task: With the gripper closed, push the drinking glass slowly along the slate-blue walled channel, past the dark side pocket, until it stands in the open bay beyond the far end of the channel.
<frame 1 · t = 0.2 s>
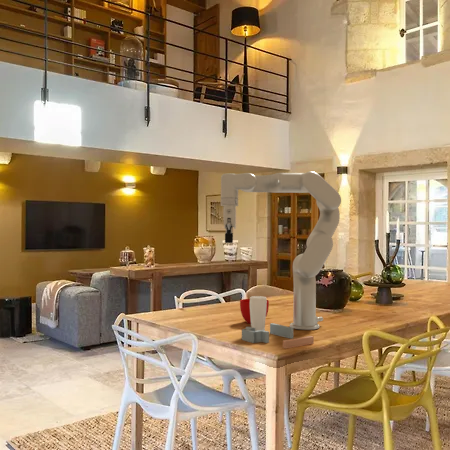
hand: (228, 242, 220), 36 cm above the table, tool pointing down, fingers open, 9 cm apart
channel: (269, 337, 200), on the table
ceramic cup: (253, 322, 233), on the table
drinking glass: (257, 335, 206), on the table
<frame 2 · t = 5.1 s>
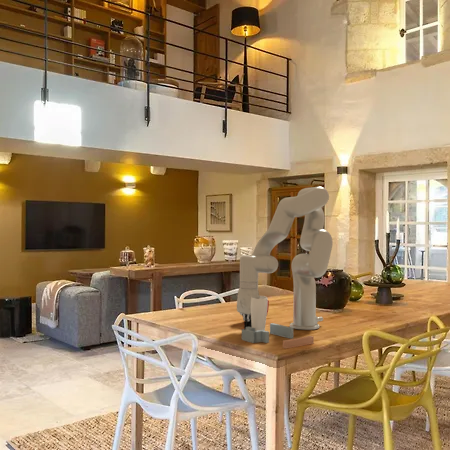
hand: (248, 330, 210), 1 cm above the table, tool pointing down, fingers closed
drinking glass: (257, 334, 206), on the table, touching gripper
everything else where it was.
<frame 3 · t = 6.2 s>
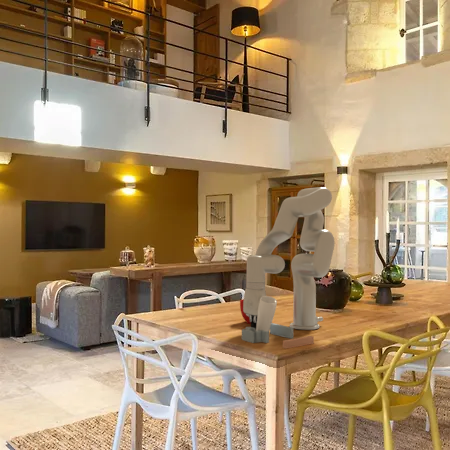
hand: (255, 331, 206), 1 cm above the table, tool pointing down, fingers closed
drinking glass: (261, 334, 203), point 1 cm above the table, touching gripper
everything else where it was.
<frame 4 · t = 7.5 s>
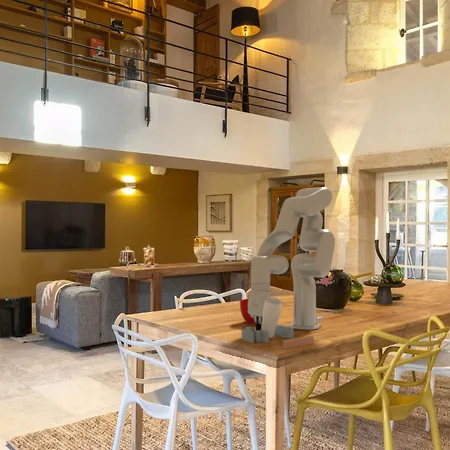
hand: (259, 333, 204), 1 cm above the table, tool pointing down, fingers closed
drinking glass: (266, 335, 201), point 1 cm above the table, touching gripper
everything else where it was.
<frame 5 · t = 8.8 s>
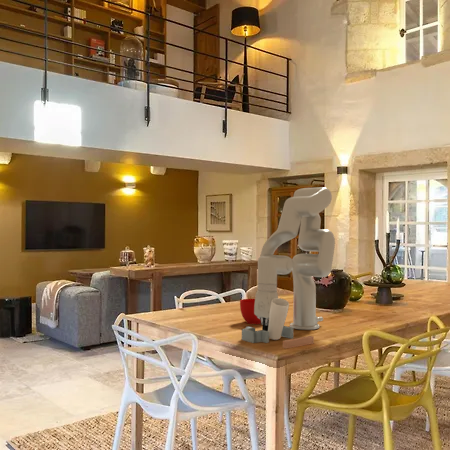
hand: (266, 335, 201), 1 cm above the table, tool pointing down, fingers closed
drinking glass: (273, 337, 198), point 1 cm above the table, touching gripper
everything else where it was.
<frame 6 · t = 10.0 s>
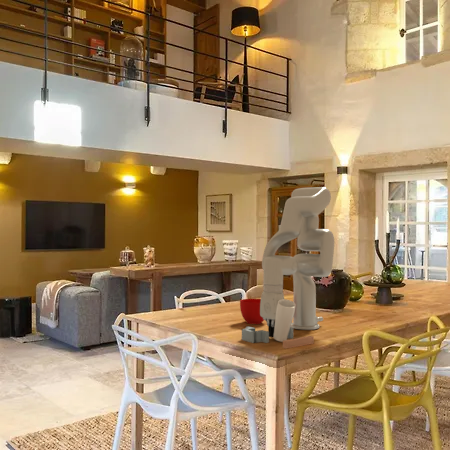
hand: (272, 336, 198), 1 cm above the table, tool pointing down, fingers closed
drinking glass: (279, 339, 195), point 1 cm above the table, touching gripper
everything else where it was.
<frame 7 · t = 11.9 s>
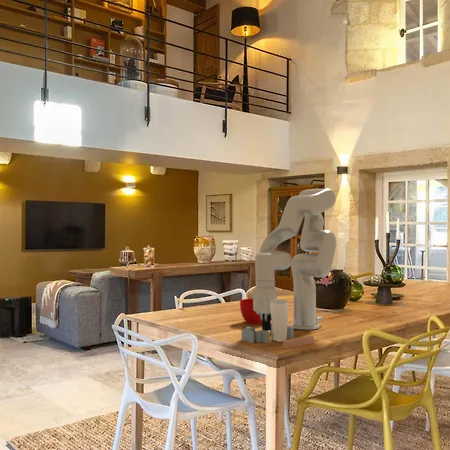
hand: (266, 330, 203), 2 cm above the table, tool pointing down, fingers closed
drinking glass: (279, 340, 195), on the table
everything else where it was.
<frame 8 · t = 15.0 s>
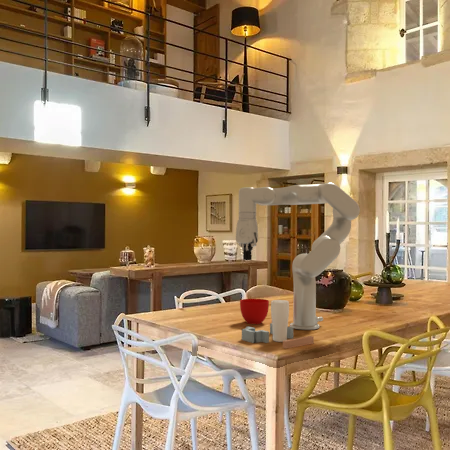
hand: (247, 259, 218), 29 cm above the table, tool pointing down, fingers closed
at the end: drinking glass inside the target area (3.2 cm from its centre), on the table; drinking glass tilted 1° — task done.
